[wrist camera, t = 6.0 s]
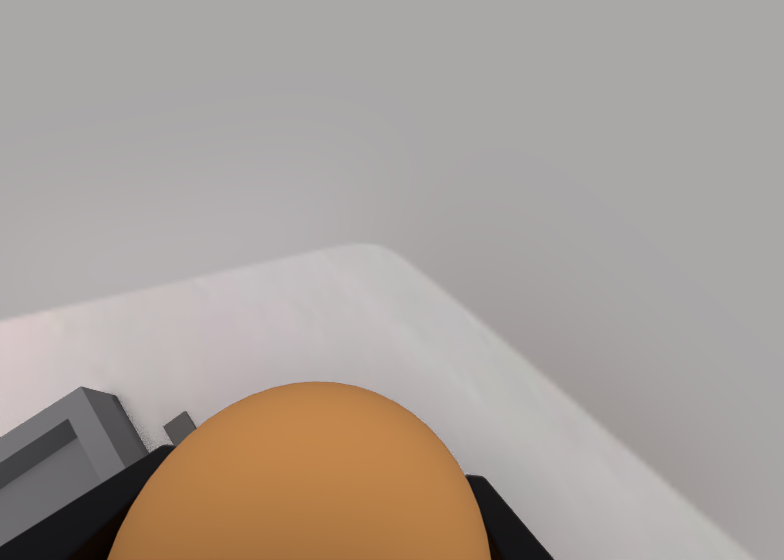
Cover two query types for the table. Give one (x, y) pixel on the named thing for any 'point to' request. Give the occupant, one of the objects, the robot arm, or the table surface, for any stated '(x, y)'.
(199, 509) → the ball
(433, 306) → the table surface
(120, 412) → the grey square tray
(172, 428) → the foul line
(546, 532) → the table surface
